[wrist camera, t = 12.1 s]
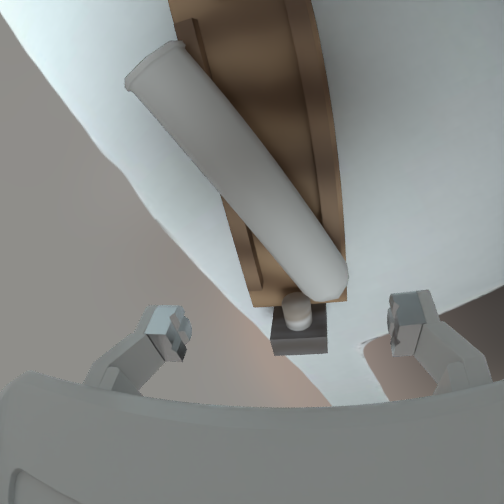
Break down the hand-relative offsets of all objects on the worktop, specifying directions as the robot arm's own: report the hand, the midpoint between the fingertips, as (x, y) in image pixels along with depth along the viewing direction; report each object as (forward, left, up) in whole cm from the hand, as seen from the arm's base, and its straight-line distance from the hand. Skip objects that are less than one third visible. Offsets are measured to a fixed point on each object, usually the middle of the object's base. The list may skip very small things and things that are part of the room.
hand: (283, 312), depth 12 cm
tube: (+1, -3, -17) cm, 17 cm away
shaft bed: (0, -2, -19) cm, 19 cm away
